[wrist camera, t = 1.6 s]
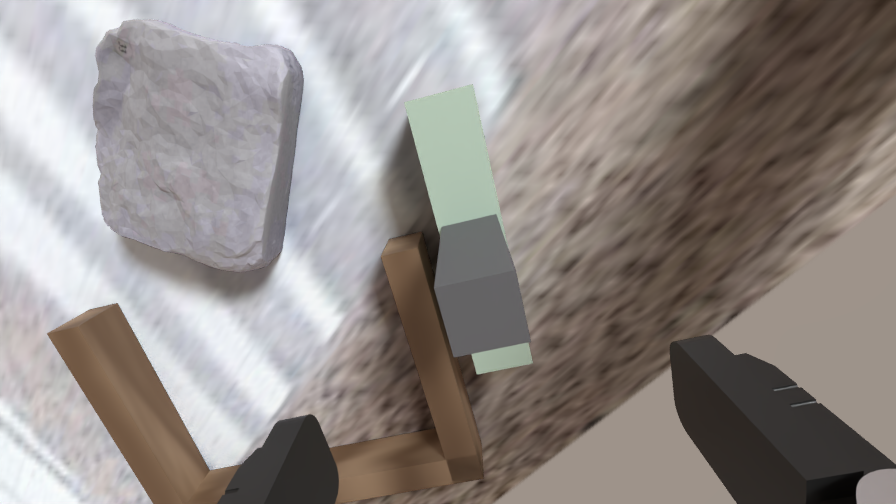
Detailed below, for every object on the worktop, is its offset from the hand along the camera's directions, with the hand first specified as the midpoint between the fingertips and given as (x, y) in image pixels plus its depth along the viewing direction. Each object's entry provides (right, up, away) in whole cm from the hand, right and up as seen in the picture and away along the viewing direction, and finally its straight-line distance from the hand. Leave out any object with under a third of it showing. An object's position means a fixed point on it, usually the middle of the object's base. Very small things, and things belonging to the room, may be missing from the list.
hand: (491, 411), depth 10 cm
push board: (0, +5, +16) cm, 17 cm away
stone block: (-14, +10, +15) cm, 23 cm away
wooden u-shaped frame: (-12, -4, +19) cm, 23 cm away
